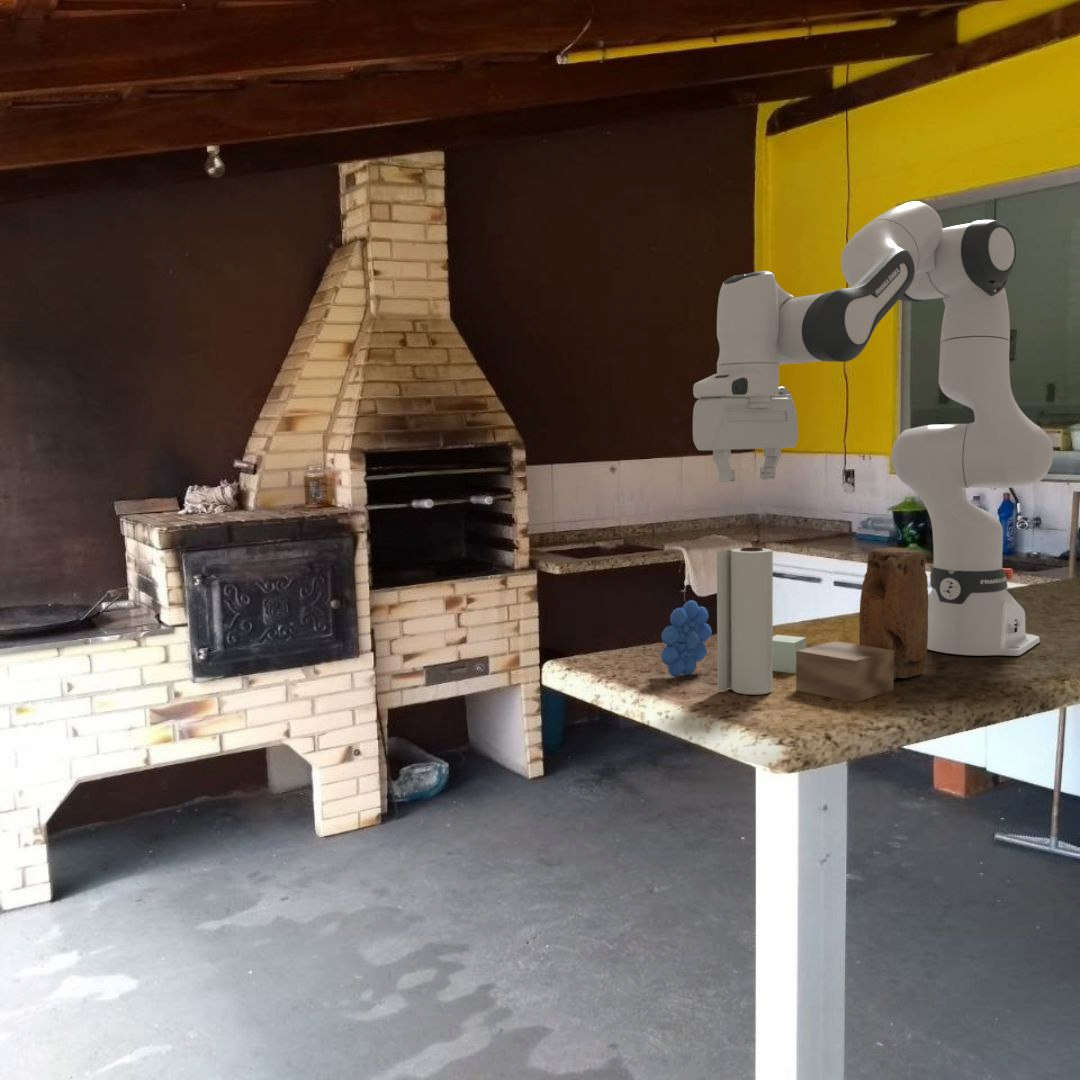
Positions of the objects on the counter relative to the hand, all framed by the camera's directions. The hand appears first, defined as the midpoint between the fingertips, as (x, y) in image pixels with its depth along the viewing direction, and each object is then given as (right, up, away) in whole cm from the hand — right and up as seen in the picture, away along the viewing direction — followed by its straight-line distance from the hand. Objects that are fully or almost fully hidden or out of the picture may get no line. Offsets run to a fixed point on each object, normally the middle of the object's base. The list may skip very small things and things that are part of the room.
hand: (747, 480), depth 154 cm
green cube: (+10, -30, +17) cm, 36 cm away
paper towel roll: (+1, -31, +3) cm, 32 cm away
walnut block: (+15, -31, +2) cm, 34 cm away
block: (+25, -30, +10) cm, 40 cm away
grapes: (-8, -30, +14) cm, 35 cm away
